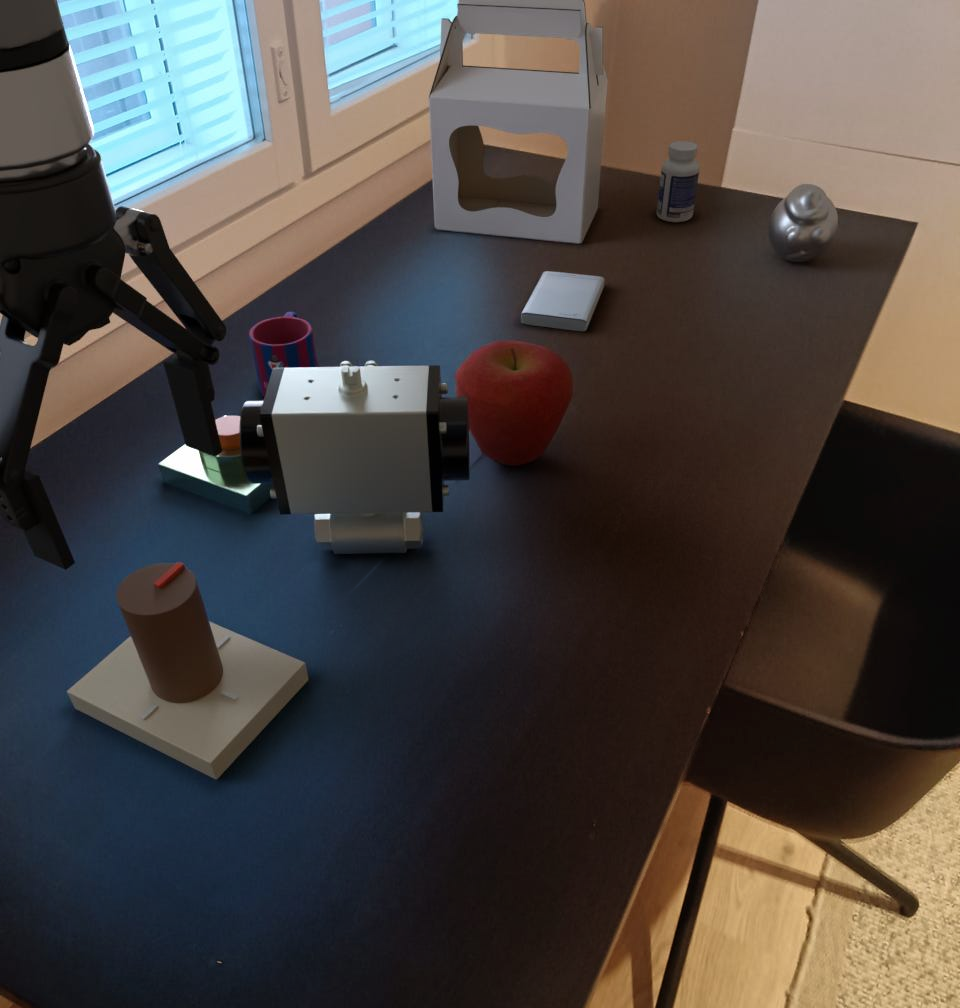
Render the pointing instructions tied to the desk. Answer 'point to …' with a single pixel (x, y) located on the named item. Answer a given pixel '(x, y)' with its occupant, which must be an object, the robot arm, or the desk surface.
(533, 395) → the apple
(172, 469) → the button box
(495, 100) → the gable box
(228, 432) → the button
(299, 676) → the panel
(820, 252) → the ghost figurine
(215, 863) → the desk surface
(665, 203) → the pill bottle
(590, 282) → the hard drive
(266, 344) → the mug
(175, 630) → the knob
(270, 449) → the ball valve
